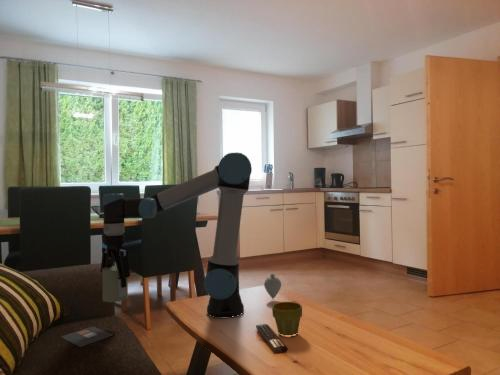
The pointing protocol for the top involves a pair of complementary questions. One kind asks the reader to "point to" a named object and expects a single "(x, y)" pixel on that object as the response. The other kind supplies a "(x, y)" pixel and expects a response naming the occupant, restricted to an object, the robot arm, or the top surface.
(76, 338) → the tile
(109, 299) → the can
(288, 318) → the plant pot
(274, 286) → the spinning top
